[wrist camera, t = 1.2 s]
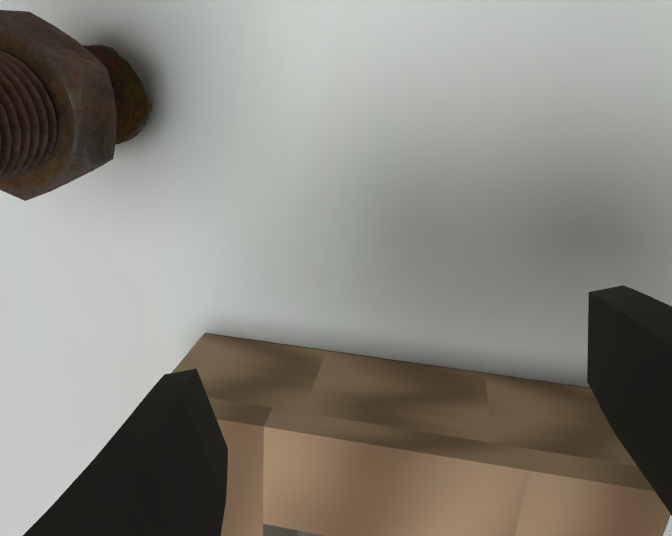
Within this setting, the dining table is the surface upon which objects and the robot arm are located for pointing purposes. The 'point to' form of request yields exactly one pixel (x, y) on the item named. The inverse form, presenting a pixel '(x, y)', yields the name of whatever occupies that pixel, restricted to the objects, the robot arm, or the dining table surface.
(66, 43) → the bolt
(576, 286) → the dining table surface
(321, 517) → the band block
